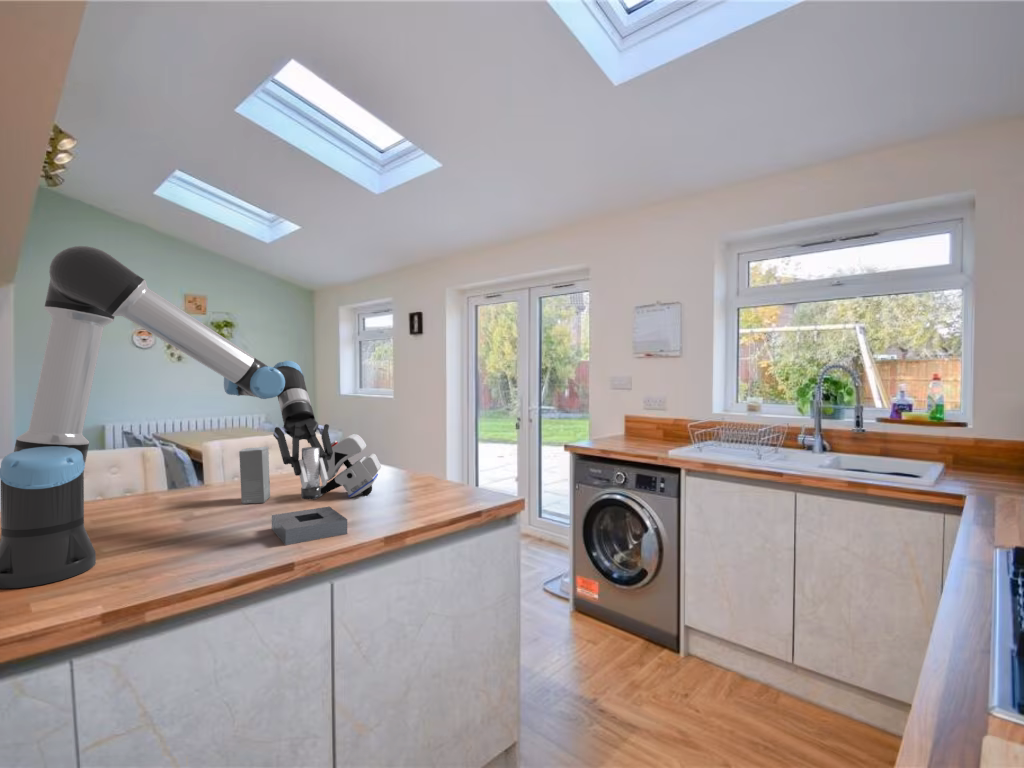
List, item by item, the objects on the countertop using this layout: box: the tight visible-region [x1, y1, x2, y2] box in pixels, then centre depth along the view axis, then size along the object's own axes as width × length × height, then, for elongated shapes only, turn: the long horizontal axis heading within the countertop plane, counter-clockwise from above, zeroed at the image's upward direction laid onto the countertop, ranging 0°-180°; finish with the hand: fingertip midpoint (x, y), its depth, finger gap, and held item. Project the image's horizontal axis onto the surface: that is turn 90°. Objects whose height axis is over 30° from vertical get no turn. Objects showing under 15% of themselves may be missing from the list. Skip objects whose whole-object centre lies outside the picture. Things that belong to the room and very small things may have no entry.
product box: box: [238, 446, 271, 504], centre depth 151 cm, size 8×7×16 cm
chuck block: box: [271, 506, 348, 546], centre depth 123 cm, size 14×14×4 cm
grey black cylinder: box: [300, 446, 322, 500], centre depth 123 cm, size 4×4×12 cm
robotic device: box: [320, 433, 382, 498], centre depth 159 cm, size 10×21×20 cm
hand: (315, 483), depth 120 cm, fingers closed on grey black cylinder, 4 cm apart
